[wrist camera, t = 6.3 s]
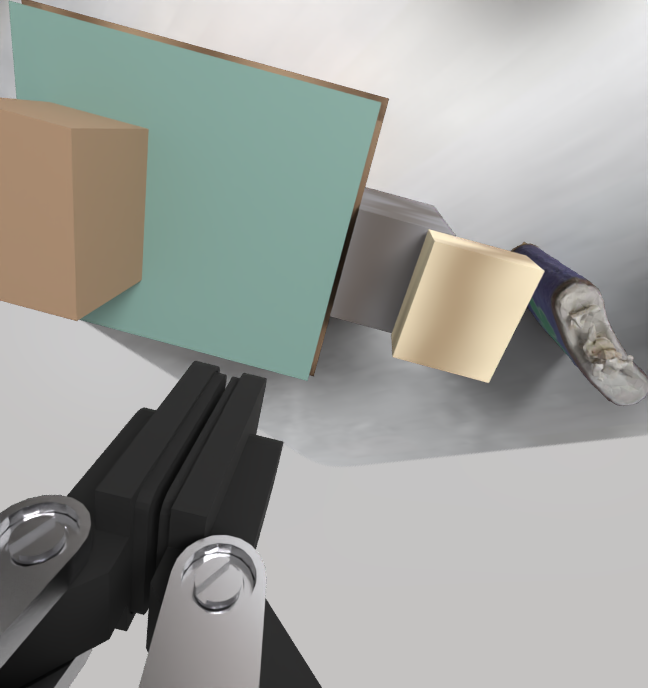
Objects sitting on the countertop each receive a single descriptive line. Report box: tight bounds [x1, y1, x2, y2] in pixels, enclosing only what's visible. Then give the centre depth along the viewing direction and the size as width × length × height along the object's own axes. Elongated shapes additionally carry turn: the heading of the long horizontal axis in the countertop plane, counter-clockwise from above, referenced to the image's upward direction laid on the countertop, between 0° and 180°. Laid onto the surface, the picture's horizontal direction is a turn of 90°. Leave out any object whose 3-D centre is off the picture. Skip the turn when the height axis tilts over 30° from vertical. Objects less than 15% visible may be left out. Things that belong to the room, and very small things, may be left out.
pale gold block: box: [391, 229, 544, 383], centre depth 21 cm, size 5×6×3 cm
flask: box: [511, 242, 648, 406], centre depth 27 cm, size 9×3×11 cm, turn 39°
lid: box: [0, 1, 381, 381], centre depth 21 cm, size 17×15×7 cm
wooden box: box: [21, 0, 456, 376], centre depth 27 cm, size 23×16×10 cm
